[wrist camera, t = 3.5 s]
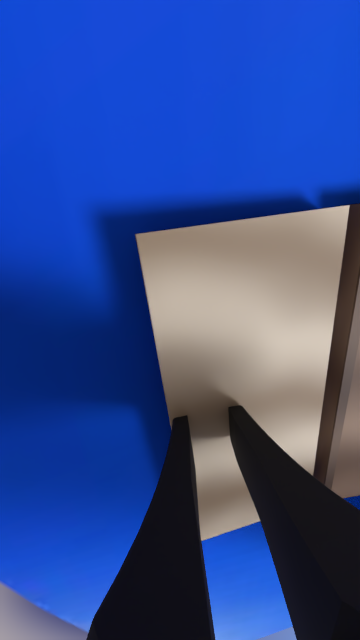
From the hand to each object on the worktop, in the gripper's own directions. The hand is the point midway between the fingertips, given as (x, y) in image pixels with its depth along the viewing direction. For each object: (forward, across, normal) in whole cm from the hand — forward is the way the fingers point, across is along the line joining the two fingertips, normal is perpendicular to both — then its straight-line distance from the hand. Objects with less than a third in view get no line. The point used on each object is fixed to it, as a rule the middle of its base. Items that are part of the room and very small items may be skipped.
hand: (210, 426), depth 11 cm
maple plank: (+2, -2, 0) cm, 3 cm away
